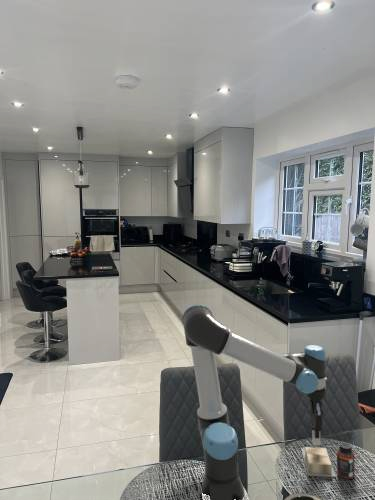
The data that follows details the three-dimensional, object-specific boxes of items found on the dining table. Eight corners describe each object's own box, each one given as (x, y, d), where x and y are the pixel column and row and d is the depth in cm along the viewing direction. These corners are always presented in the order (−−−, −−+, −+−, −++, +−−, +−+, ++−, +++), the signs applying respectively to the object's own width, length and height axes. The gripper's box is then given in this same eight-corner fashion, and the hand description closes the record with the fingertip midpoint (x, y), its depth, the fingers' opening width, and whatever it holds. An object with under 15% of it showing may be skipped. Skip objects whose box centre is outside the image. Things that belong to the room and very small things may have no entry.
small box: (305, 455, 146) (309, 472, 136) (305, 447, 145) (309, 463, 135) (326, 456, 144) (331, 474, 134) (325, 448, 144) (331, 464, 134)
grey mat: (307, 475, 135) (307, 474, 135) (300, 449, 150) (300, 448, 150) (335, 477, 133) (335, 476, 133) (325, 450, 149) (325, 449, 149)
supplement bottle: (356, 480, 131) (356, 451, 130) (339, 479, 132) (338, 449, 131) (352, 469, 137) (352, 441, 136) (335, 468, 138) (335, 439, 137)
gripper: (329, 394, 134) (330, 455, 135) (321, 378, 146) (322, 434, 148) (308, 393, 135) (309, 454, 136) (302, 378, 147) (303, 434, 149)
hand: (316, 443), depth 142 cm, fingers closed
